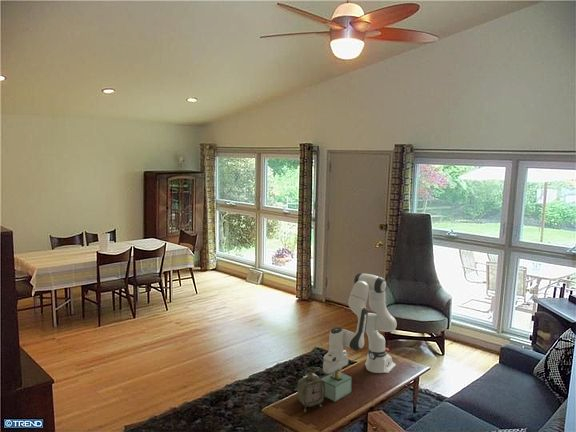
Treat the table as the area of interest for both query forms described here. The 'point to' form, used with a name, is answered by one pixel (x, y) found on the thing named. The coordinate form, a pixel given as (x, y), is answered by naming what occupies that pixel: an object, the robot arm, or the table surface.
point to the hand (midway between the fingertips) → (336, 375)
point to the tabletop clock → (311, 390)
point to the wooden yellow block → (337, 375)
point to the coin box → (337, 386)
